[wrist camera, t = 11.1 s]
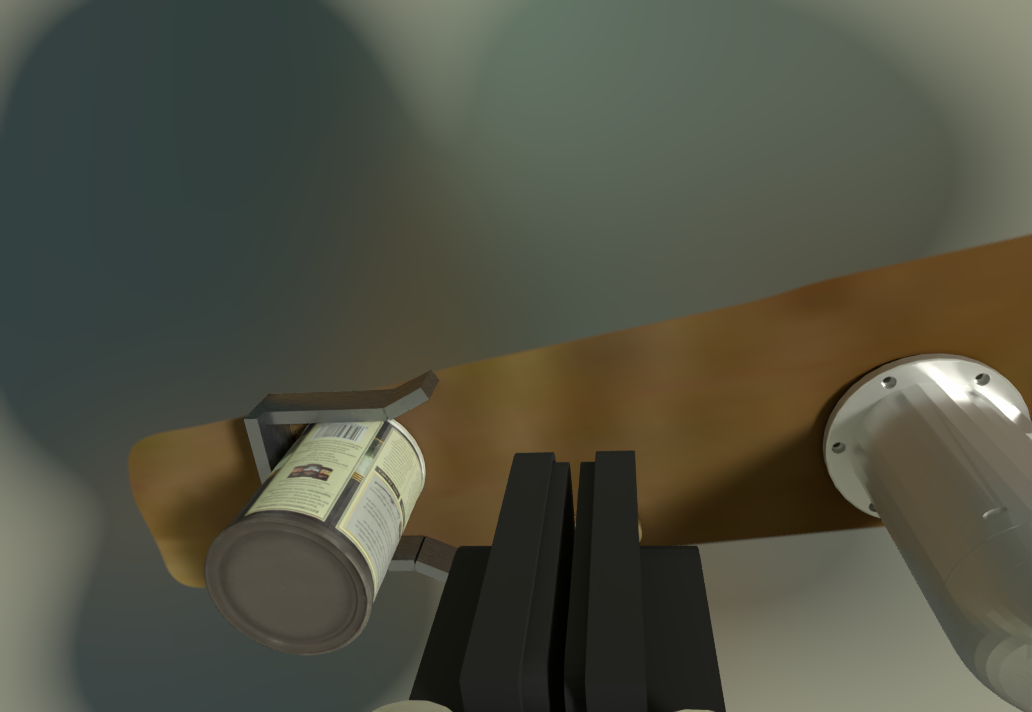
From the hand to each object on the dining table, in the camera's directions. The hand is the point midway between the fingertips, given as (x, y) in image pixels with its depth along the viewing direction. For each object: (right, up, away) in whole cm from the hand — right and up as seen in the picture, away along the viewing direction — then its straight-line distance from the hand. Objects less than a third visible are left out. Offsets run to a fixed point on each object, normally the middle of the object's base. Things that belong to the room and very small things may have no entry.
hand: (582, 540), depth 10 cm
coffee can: (-13, -6, +45) cm, 47 cm away
